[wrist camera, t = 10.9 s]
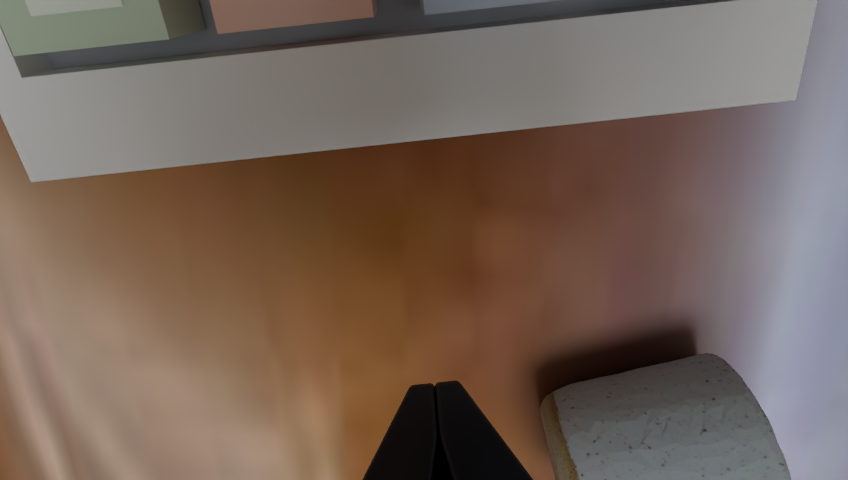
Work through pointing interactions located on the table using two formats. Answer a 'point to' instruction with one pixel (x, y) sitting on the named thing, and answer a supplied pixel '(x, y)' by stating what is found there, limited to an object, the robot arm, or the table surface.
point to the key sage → (94, 23)
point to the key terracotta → (285, 13)
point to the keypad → (393, 80)
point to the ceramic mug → (662, 426)
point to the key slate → (468, 5)
